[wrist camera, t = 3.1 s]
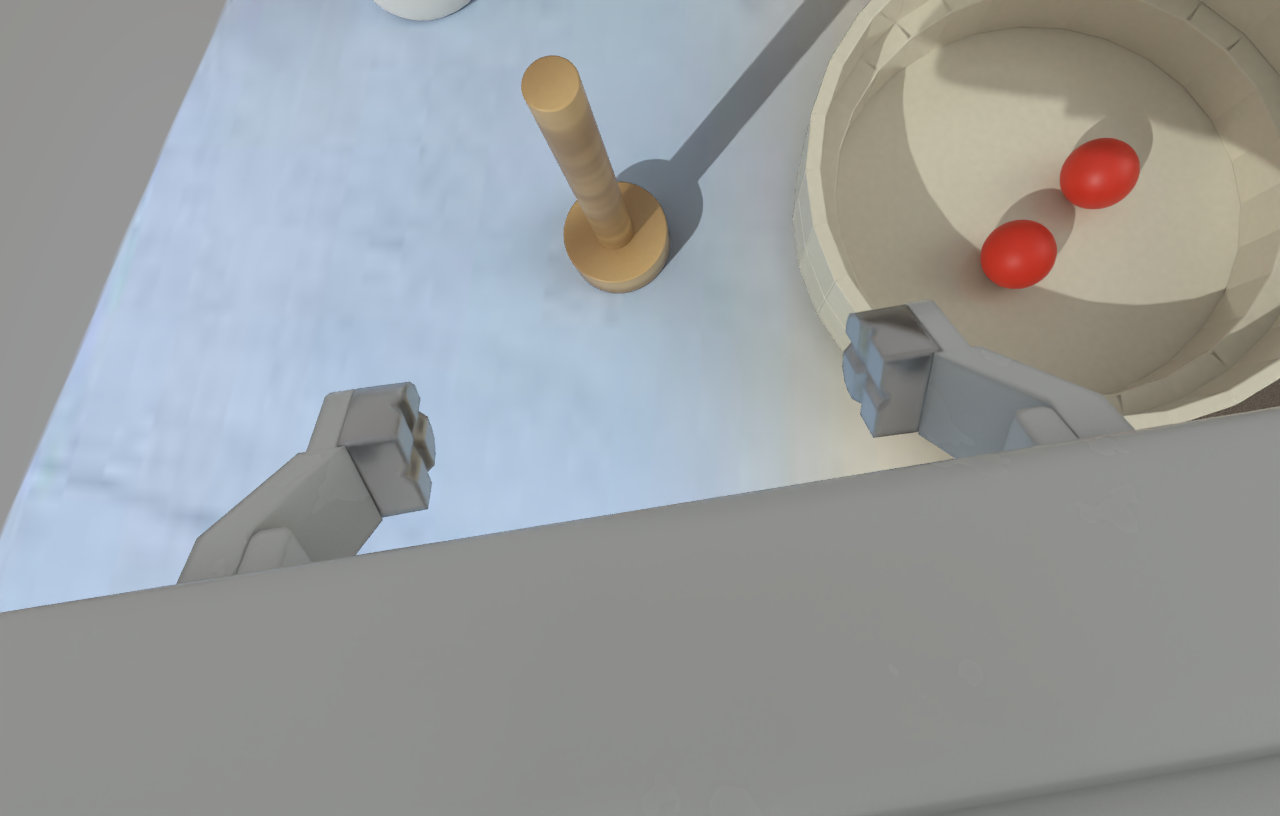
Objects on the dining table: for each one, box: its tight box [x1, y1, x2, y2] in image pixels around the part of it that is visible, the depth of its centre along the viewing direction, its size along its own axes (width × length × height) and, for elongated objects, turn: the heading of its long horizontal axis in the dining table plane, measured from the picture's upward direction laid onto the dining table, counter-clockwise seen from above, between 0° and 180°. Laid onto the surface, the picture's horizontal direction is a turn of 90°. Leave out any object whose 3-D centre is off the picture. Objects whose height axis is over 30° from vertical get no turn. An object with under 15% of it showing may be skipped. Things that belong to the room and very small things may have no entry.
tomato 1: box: [980, 220, 1057, 289], centre depth 32 cm, size 3×3×3 cm
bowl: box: [793, 0, 1280, 430], centre depth 31 cm, size 21×21×6 cm
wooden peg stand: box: [521, 56, 670, 293], centre depth 29 cm, size 5×5×15 cm
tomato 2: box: [1060, 138, 1140, 209], centre depth 32 cm, size 3×3×3 cm
